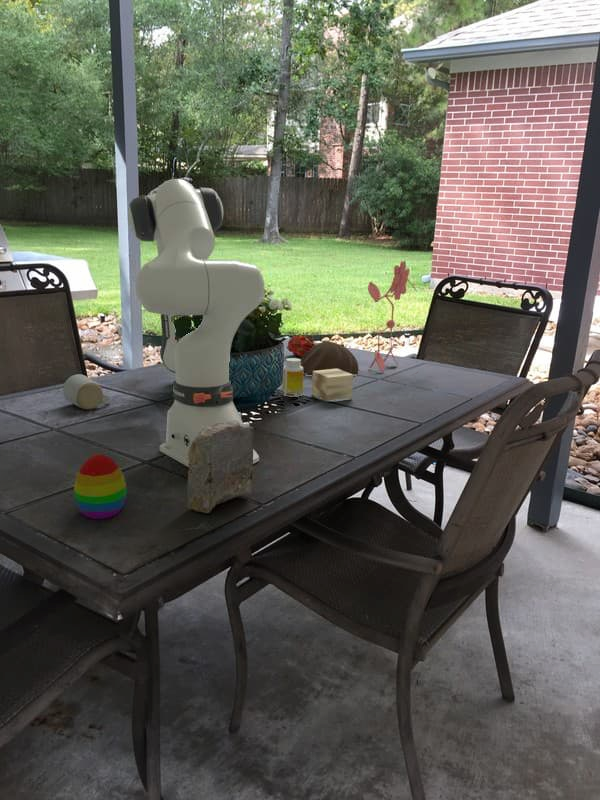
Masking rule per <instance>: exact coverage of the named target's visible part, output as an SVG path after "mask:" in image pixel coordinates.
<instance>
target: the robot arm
mask: <svg viewBox="0 0 600 800" xmlns="http://www.w3.org/2000/svg"><path fill="white" fill-rule="evenodd" d="M127 214H128V215H127V220H128V223H129V227H130V229H131V230H132V232H133V233H134V235H135V237H136V238H137V239H138V240H140V241H141V242H153V243H154V241H155V242H156V248H157V256H156V257H155V258H153V259H152V260H150V261H149V262H147V263H145V264H144V265H143V266H141V268H140V269H139V272H138V273H137V276H136V279H135V293H136V297H137V299H138V302H139V303H140V305H141V306H142V307H143V309H145V311H147V312H148V313H152V314H158V315H160V324H161V335H162V341H161V344H160V345H161V346H160V349H159V356H160V359H161V362H162V364H163V365H164V367H165V368H166V369H167V370H169V371H170V372H171V373H173V374H174V375H175V379H174V380H173V387H172V393H173V399H174V401H173V404H172V405H171V407H170V408H169V409H168V410H167V414H166V433H165V434H166V437H165V439H166V440H165V442H163V443H162V444H161V445H159V452H161V453H163V454H164V455H165V456H167V457H170V458H171V459H173V460H174V461H177V462H178V463H180V464H182V465H184V466H185V467H188V462H189V461H190V460H189V456H188V451H189V448H190V445H191V443H192V440H193V438H194V437H195V436H196V434H197V433H198V432H199V431H201V430H202V429H203V428H206V427H208V426H210V425H213V424H215V423H223V422H230V421H232V420H237V421H238V422H239V423H240V424H242V425H244V426H245V427H251V425H250V423H249V421H246V422H243V419H242V413H241V412H239V411H238V410H237V408H236V406H235V403H234V401H233V400H234V395H233V394H234V393H233V392H234V390H233V385H231V381H230V380H229V362H230V353H231V349H232V344H233V340H234V337H235V334H236V333H237V331H238V329H239V327H240V326H241V324H242V322H243V321H244V320H245V319H246V317H247V316H249V314H251V313H252V312H253V311H254V310H256V309H257V307H259V305H260V304H261V302H262V300H263V298H264V295H265V280H264V277H263V274H262V273H261V271H260V270H259V268H258V267H257V265H255V264H253V263H250V262H246V261H242V260H236V259H212V258H211V259H209V257H210V256H211V255H212V254H213V252H214V249H215V246H216V236H215V234H214V232H216V231H218V230H219V229H220V228H221V226H222V225H223V219H224V205H223V202H222V200H221V198H220V197H219V194H218V192H216V191H215V190H214V188H210V187H198V188H195V187H194V186H193V185H192V184H191V183H190V182H189V181H187V180H184V179H180V178H173V179H172V178H171V179H169V180H166V181H163V183H161V184H160V186H158V188H157V190H156V192H154V193H151V194H148V195H145V194H142V195H138V196H137V197H134V198H133V199H132V200H131V202H130V203H129V208H128V213H127ZM182 315H185V316H202V319H201V320H202V322H201V324H200V325H199V326H198V328H196V329H195V330H194V331H192V332H190V333H188V334H186V335H185V336H183V337H182V338H181V339H180V340H179V341H178V340H175V329H174V326H173V324H172V322H171V321H170V316H182ZM259 461H260V456H259V454H258V453H257V451H256V450H255V449H254V448H253V465H254V464H256V463H257V462H259ZM188 468H189V467H188Z"/></svg>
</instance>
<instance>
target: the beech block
mask: <svg viewBox="0 0 600 800" xmlns="http://www.w3.org/2000/svg"><path fill="white" fill-rule="evenodd" d="M311 378H312V379H311V380H312V381H311V382H312V383H311V385H312V386H311V395H312V394H313V395H315V396H317V397H319V398H322V399H324V400H327V401H329V400H335V399H343V398H352V399H353V392H354V391H353V389H354V377H353V374H350V373H348V372H345V371H342V370H340V369H328V370H318V371H313V377H311Z"/></svg>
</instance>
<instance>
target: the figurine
mask: <svg viewBox="0 0 600 800" xmlns="http://www.w3.org/2000/svg"><path fill="white" fill-rule="evenodd" d="M393 268H394V269H393V274H394V276H393V278H392V282H391V285H390V287H389V289H388V290H387V292H386V293H385V294H383V296H381V292H380V289H379V287H378V286H377V285H376V284H374V282H372V281H370V282H369V283H368V286H367V291H368V294H369V295H370V297H371V298H372V299H373V300H374V303H379V302H380V300H382V299H384V298H386V300H387V301H388V302H389V303H390V305H391V319H389V320H387V322H386V324H385V325H386V327H385V328H384V329H382V330H380V331H379V332H378V334H377V338H378V339H377V341H378V342H377V351H376V352H375V353H374V359H373V361H372V363H371V364H370V365H369V367H368V369H369V368H371V369H372V367H373V365H374V364H375V362H376V364H377V366H378V368H379V369H380V371H381V372H382V373H384V372H385V366H386V364H385V362H386V361H387V358H388V357H389V355H390V354H391V356H392V358H393V360H394V362H395V364H396V365H397V366H399V364H398V361H397V359H396V358H395V356H394V354H393V346H392V342H393V341H392V339H393V338H392V329H393V328H394V327H395V325H396V323H395V321H394V310H395V309H394V307H395V305H394V304H393V302H392V301H391V300H390V298H393V297H394V301H399V300H401V295H406V293H407V283H409V284H410V286H411V287H412V288H413V290H415V292H417V288H416V287H415V286H414V284H413V283H412V282H411V281H410V279H409V278H408V277H409V275H410V268H409V267H408V268H407V262H406V260H404V261H400V263H399V265H395V266H394V267H393ZM406 268H407V269H406ZM389 293H391V295H390V294H389ZM392 293H393V294H392ZM387 329H390V331H389V334H390V347H388V350H389V351H388V352H387V354H386V356H385V357H384V358H383V356H382V354H381V353H380V334H382V332H385V331H386V330H387ZM358 371H359V372H362V373H363V372H364V371H362V370H359V369H358ZM383 371H384V372H383Z"/></svg>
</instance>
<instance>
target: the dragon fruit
mask: <svg viewBox="0 0 600 800" xmlns="http://www.w3.org/2000/svg"><path fill="white" fill-rule="evenodd" d="M315 345H317V343H314V340H313V339H312V338H309V337H307V335H305V334H302V335H300V334H296V335H293V336H292V337H291V338H290V339H289V340H288V342H287V346H286V349H287V351H289V353H290V352H291V353H292V354H293V356H294V357H293V358H296V357H300V358H302V356H303V355H304V354H305V353H306V352H307V351H309V350H310V349H311V348H312V347H313V346H315ZM296 355H297V356H296Z"/></svg>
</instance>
